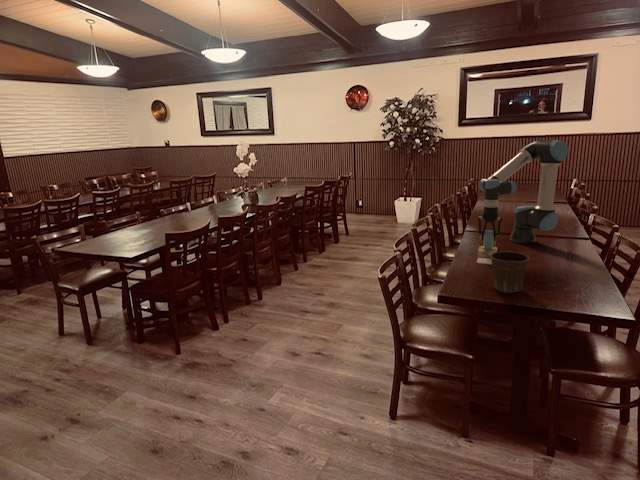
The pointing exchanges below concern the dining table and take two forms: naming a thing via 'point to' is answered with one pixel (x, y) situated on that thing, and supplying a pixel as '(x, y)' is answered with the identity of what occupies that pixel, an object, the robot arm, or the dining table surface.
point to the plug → (488, 239)
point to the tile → (484, 261)
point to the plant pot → (508, 271)
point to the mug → (483, 241)
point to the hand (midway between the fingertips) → (488, 245)
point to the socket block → (486, 252)
